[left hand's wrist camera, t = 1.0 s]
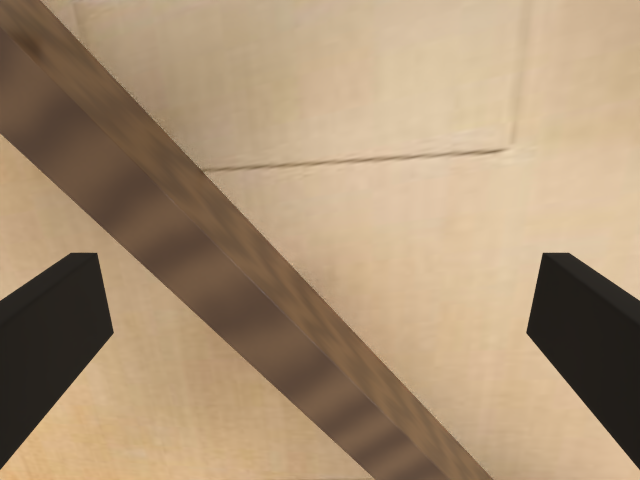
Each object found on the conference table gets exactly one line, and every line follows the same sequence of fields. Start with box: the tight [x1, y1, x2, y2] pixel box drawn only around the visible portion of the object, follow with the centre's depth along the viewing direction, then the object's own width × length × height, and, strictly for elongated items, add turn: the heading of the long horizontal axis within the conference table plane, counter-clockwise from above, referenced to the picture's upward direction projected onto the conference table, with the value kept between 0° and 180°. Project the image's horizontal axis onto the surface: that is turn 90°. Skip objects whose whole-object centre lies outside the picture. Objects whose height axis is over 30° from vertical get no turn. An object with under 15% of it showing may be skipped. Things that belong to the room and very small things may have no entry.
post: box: [0, 0, 493, 480], centre depth 36 cm, size 80×5×8 cm, turn 40°
